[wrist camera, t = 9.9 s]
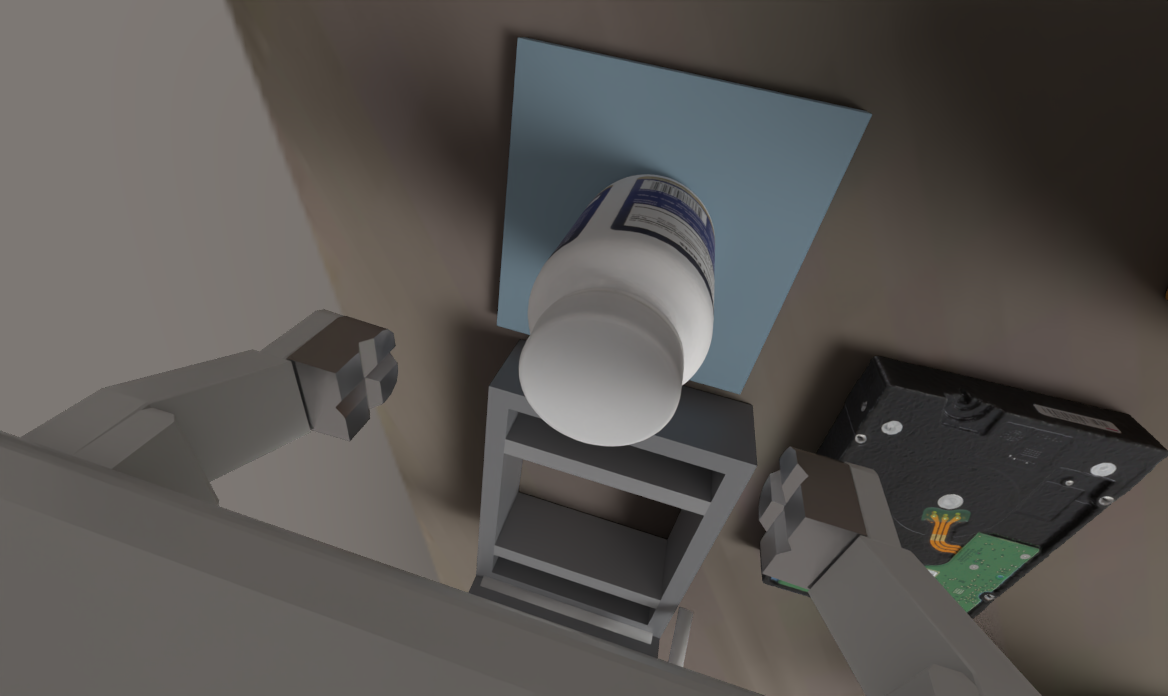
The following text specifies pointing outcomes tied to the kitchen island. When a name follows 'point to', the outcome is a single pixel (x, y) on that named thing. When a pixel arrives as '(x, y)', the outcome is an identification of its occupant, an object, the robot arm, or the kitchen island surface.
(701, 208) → the pill bottle
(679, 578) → the hinged lid box
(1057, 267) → the kitchen island surface
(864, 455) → the disk drive
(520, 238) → the mat
